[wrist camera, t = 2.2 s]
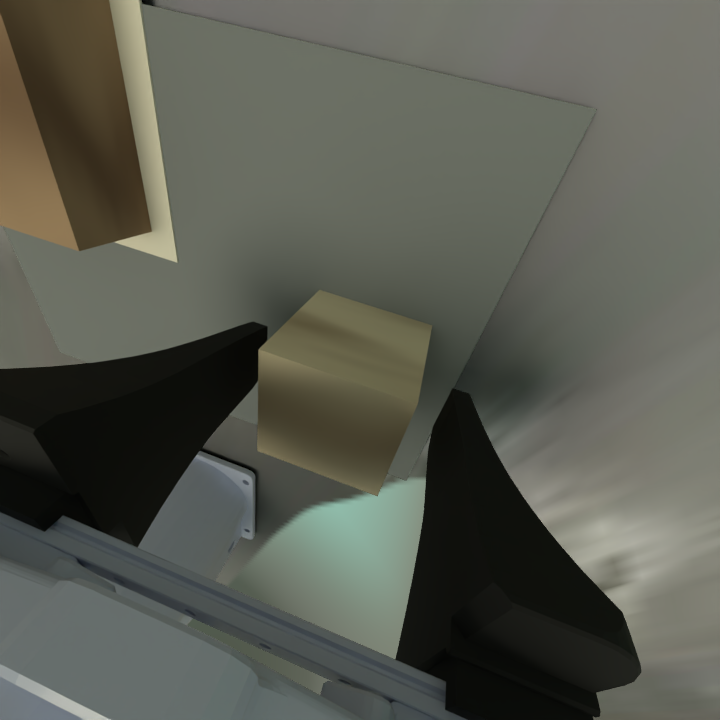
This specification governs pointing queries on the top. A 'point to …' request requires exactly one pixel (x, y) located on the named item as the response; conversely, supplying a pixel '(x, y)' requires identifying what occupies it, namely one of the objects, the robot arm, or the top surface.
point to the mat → (306, 198)
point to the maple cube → (340, 389)
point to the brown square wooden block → (66, 126)
